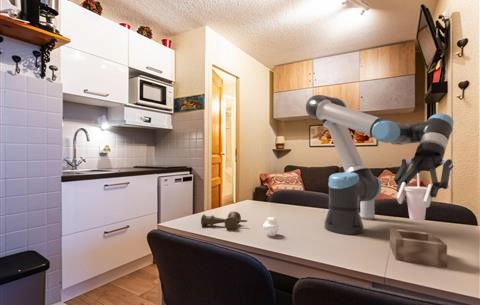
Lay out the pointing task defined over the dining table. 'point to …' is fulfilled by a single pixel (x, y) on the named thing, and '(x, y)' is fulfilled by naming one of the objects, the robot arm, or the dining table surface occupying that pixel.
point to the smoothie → (416, 201)
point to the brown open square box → (418, 247)
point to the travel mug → (367, 210)
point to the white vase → (271, 226)
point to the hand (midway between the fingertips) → (411, 202)
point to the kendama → (223, 220)
